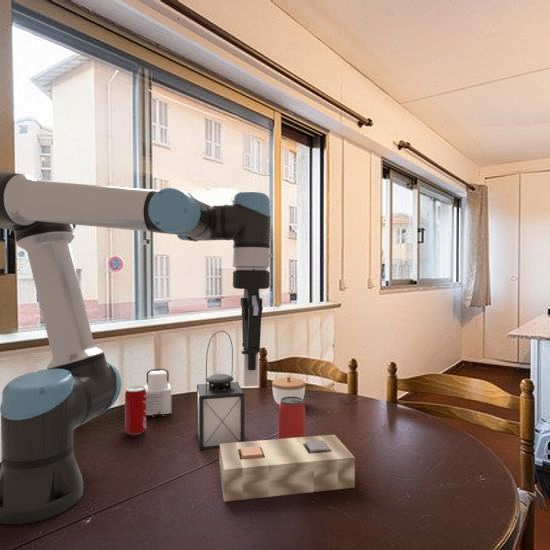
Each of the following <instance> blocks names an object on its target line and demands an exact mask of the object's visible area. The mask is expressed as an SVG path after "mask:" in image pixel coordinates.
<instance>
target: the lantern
mask: <svg viewBox="0 0 550 550" xmlns="http://www.w3.org/2000/svg"><path fill="white" fill-rule="evenodd" d="M221 332H222V333H225V334H227V335H228V337H229V340H230V343H231V372H233V370H234V369H233V363H234V353H233V352H234V349H233V342H232V338H231V336H230V334H229V333H228V332H227V331H224V330H219V331H216V332H215V333H214V334H213V335H212V336H211V338H210V339H209V342H208V345H207V350H206V355H208V353H209V347H210V343H211V342H212V339H213V337H214V336H215V335H216V334H218V333H221ZM205 358H206V360H205V361H206V362H205V383H197V385H196V404H197V405H196V434H197V438H198V439H197V440H198V450H199V452H203V451H212V450H220V444H223V443H235V442H245V391H243V390H242V388H241V385H240V384H239V382H238V381H234V377H233V376H232V375H229V374H227V373H217V374H211V375H209V376H208V356H205Z"/></svg>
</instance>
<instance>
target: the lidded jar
mask: <svg viewBox="0 0 550 550" xmlns="http://www.w3.org/2000/svg"><path fill="white" fill-rule="evenodd" d="M271 384H272V396H273V398H274V401H275V402H276V403H277V405H280V402H281V399H282V398H284V397H289V396H294V397H300V398H302V399H303V400H304V398H305V394H306V393H305V392H306V382H305V380H304V379H301V378H295V377H291V376H287V377H281V378H276V379H274V380H272V381H271Z"/></svg>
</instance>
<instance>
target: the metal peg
mask: <svg viewBox="0 0 550 550" xmlns="http://www.w3.org/2000/svg"><path fill="white" fill-rule="evenodd" d="M305 448H306V450H307V452H308V453H309V454H310V453H321V452H329V447H328V446H327V445H326V444H325V442H324V441H312V442H305Z"/></svg>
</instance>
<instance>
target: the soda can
mask: <svg viewBox="0 0 550 550" xmlns="http://www.w3.org/2000/svg"><path fill="white" fill-rule="evenodd" d="M146 430H147V417H146V389H145V385H144V386H143V385H134V386H130V387H129V386H128V387H127V388H126V389H125V394H124V432H125V433H126V434H127V433H128V434H139V433H142V432H144V431H145V432H146ZM145 432H144V433H145ZM128 434H127V435H128ZM142 434H143V433H142ZM139 435H140V434H139Z"/></svg>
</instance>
